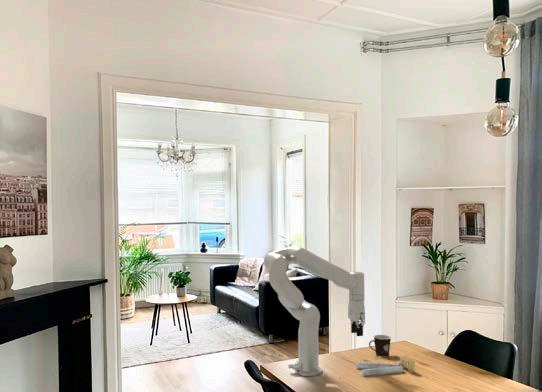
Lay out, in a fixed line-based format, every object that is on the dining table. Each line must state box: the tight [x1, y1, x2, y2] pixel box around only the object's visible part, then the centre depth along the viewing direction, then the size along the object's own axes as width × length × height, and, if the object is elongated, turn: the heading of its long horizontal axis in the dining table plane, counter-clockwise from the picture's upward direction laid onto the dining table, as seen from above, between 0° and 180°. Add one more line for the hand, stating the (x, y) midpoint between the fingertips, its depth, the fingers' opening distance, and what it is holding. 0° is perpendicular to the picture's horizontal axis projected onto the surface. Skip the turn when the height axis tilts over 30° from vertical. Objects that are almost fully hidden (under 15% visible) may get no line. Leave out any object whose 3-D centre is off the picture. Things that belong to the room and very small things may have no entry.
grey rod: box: [355, 361, 402, 370], centre depth 198 cm, size 21×2×3 cm, turn 83°
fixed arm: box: [361, 366, 404, 377], centre depth 193 cm, size 20×1×2 cm, turn 105°
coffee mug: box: [368, 334, 392, 357], centre depth 221 cm, size 12×9×10 cm
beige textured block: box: [399, 355, 416, 374], centre depth 197 cm, size 3×7×5 cm, turn 15°
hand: (357, 333), depth 207 cm, fingers open, 5 cm apart
